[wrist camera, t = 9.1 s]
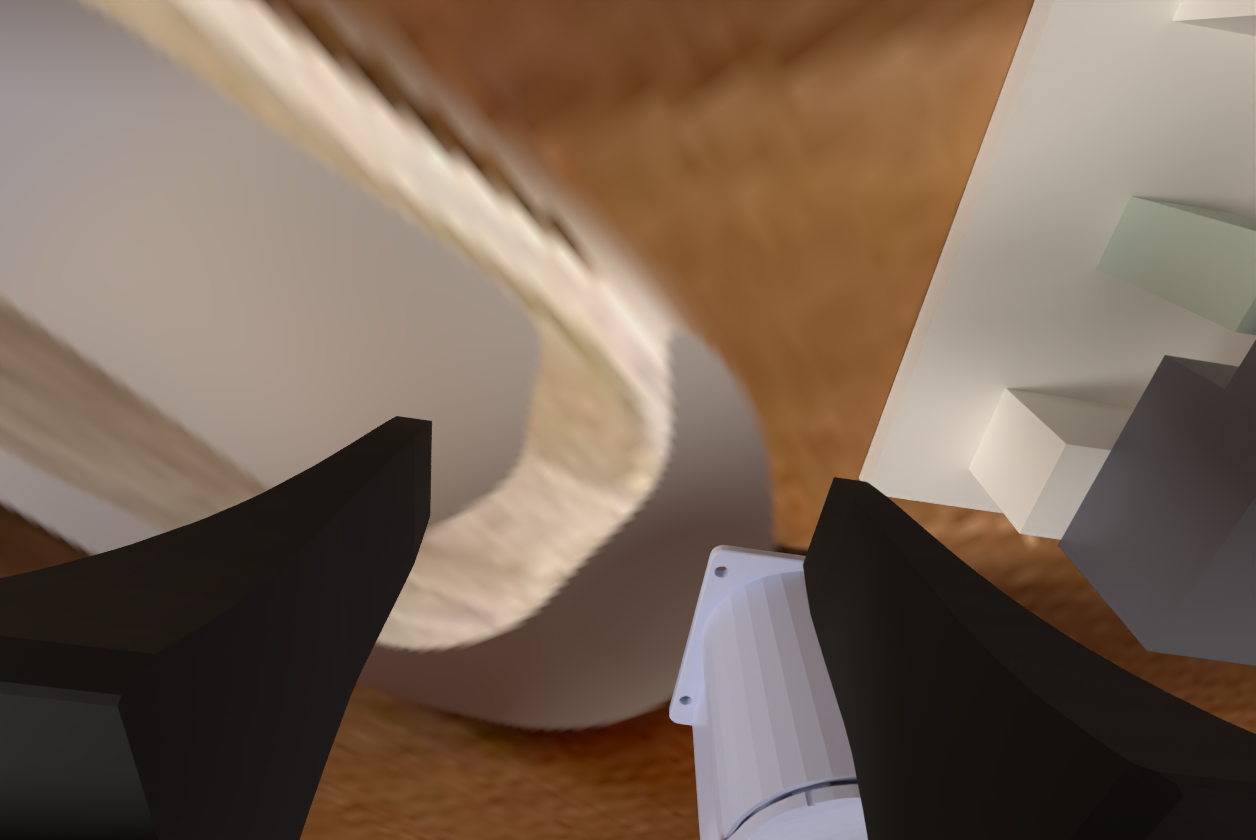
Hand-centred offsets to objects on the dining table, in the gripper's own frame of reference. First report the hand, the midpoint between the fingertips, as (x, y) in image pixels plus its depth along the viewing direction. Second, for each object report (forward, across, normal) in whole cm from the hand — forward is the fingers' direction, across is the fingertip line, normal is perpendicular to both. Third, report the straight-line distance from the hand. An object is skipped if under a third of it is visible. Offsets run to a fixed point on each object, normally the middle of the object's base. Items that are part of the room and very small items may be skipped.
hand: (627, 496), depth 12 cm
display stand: (+10, -14, -4) cm, 18 cm away
